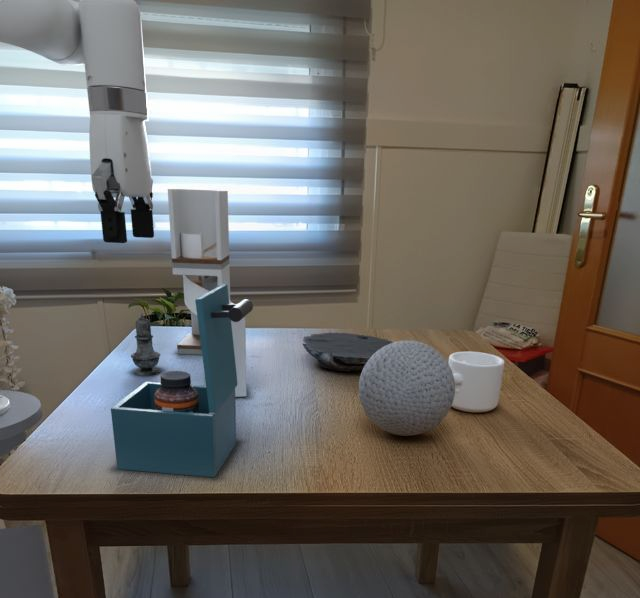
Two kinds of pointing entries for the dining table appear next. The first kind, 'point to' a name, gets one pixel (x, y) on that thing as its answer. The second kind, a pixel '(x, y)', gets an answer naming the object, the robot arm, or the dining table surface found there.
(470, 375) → the mug
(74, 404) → the dining table surface
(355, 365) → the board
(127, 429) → the case
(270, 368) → the dining table surface
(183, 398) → the supplement bottle
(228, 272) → the display case
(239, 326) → the milk carton
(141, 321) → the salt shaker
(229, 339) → the case lid
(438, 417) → the decorative ball
